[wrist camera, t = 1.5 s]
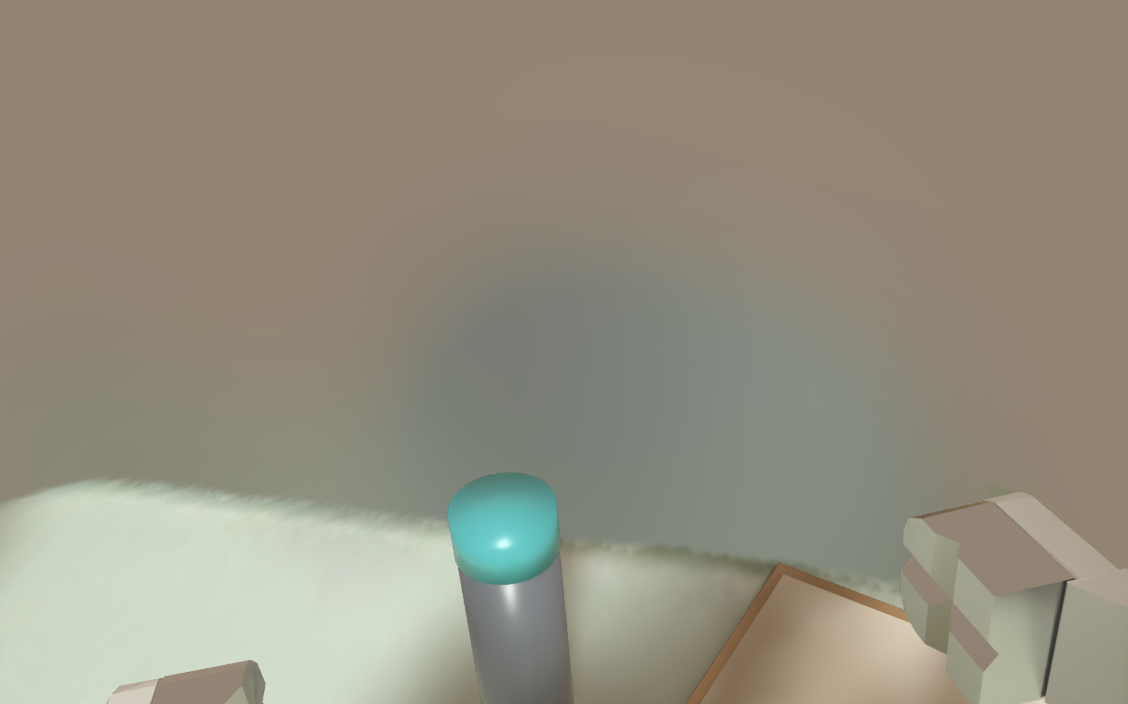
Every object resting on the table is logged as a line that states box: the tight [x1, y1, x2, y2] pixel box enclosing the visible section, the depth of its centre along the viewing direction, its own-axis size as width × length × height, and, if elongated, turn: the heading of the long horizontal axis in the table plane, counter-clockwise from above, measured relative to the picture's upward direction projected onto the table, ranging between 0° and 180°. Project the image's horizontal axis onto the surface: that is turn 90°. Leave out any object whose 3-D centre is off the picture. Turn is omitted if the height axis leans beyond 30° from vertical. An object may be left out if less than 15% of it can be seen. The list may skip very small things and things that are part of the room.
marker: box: [447, 473, 574, 704], centre depth 28 cm, size 3×3×14 cm
